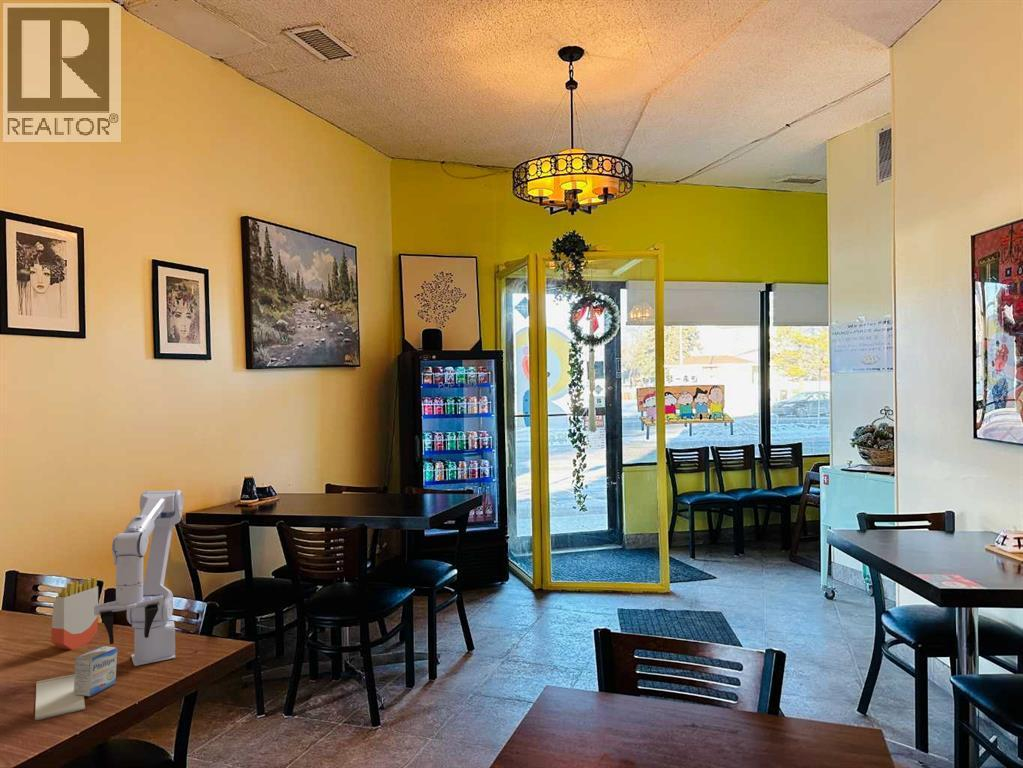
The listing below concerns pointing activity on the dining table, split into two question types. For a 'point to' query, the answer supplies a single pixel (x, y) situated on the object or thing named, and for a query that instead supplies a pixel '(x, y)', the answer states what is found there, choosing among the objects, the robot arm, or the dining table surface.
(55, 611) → the french fries container
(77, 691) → the medicine box
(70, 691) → the cream flat slab
